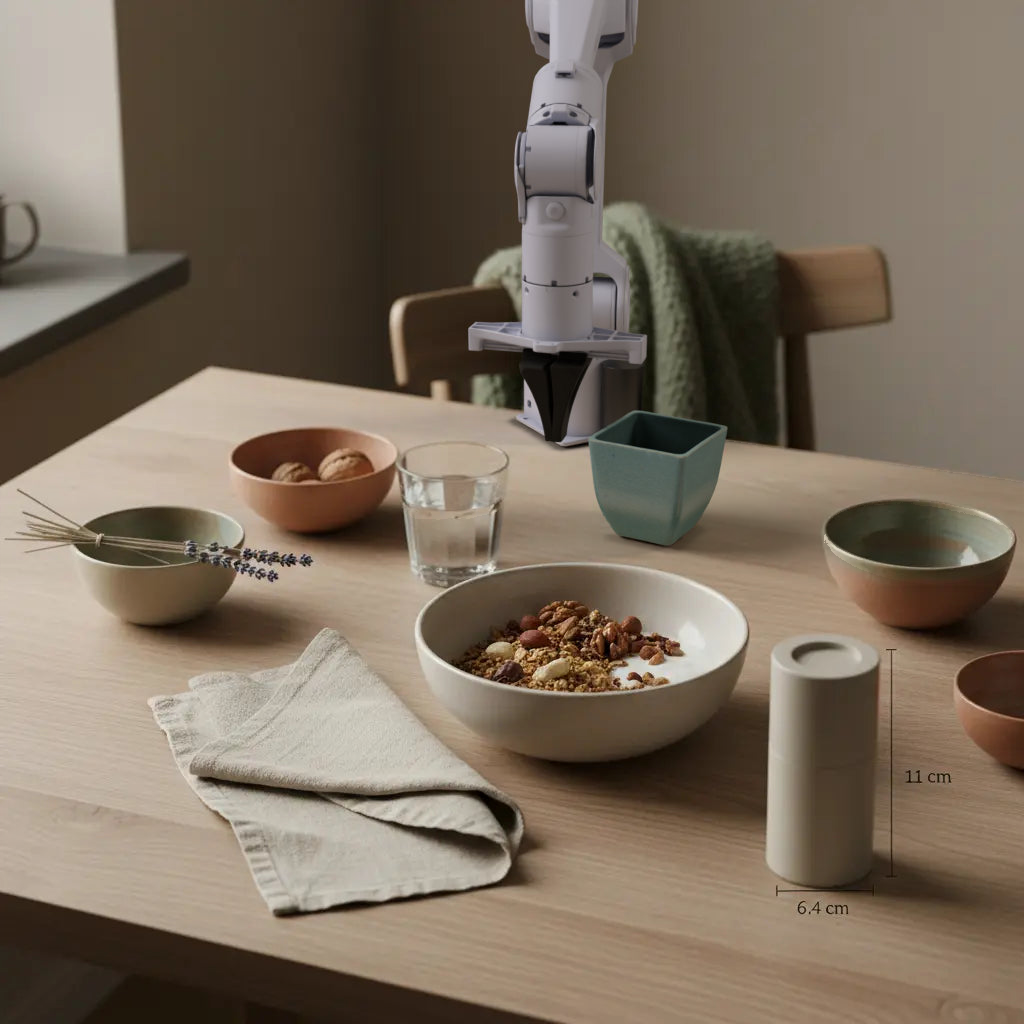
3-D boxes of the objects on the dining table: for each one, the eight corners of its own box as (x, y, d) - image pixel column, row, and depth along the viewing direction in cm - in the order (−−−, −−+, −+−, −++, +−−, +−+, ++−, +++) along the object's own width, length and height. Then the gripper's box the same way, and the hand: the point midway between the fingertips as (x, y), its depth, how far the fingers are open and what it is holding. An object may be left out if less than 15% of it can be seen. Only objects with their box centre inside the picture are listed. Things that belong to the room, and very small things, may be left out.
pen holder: (592, 439, 148) (593, 360, 145) (626, 432, 150) (628, 354, 147) (614, 451, 145) (616, 371, 142) (649, 444, 147) (652, 365, 143)
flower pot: (631, 504, 132) (634, 407, 129) (724, 524, 128) (730, 424, 125) (583, 539, 125) (585, 437, 122) (680, 562, 121) (685, 457, 118)
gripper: (455, 284, 119) (458, 445, 124) (636, 296, 115) (631, 462, 121) (482, 263, 125) (483, 418, 131) (654, 275, 122) (648, 433, 127)
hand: (555, 438), depth 126 cm, fingers closed
